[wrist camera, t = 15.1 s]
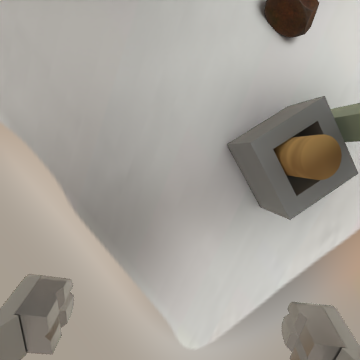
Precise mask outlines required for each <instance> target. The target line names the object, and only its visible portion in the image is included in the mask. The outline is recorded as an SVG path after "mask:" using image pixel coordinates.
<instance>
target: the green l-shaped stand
mask: <svg viewBox="0 0 360 360" xmlns="http://www.w3.org/2000/svg"><path fill="white" fill-rule="evenodd" d="M331 112H332V114H333V116H334V119H335V121H336V123H337V126H338V128H339V130H340V132H341V135H342V137H343V139H344V142H353V141H360V103H358V104H353V105H348V106H344V107H339V108H334V109H331Z"/></svg>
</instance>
